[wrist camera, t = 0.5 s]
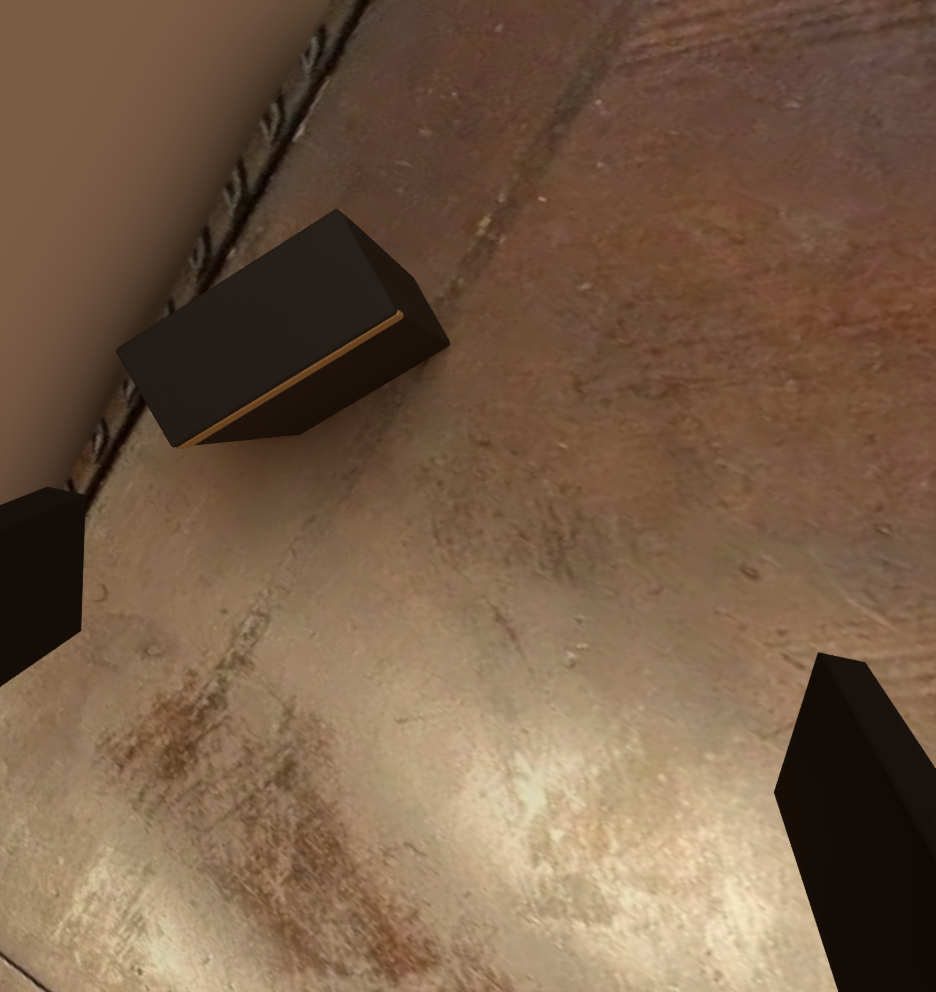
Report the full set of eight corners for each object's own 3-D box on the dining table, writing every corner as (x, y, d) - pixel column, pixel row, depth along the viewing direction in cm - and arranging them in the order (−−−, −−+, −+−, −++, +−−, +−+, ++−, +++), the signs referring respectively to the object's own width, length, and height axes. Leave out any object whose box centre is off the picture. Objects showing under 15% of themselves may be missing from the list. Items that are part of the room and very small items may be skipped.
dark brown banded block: (299, 436, 33) (172, 450, 22) (259, 367, 33) (111, 347, 22) (452, 345, 32) (398, 312, 21) (411, 274, 32) (336, 204, 21)
